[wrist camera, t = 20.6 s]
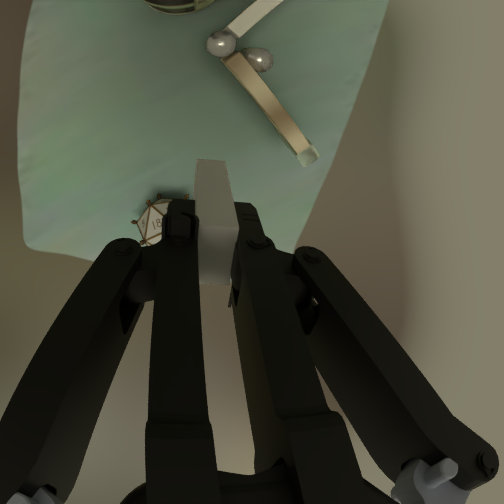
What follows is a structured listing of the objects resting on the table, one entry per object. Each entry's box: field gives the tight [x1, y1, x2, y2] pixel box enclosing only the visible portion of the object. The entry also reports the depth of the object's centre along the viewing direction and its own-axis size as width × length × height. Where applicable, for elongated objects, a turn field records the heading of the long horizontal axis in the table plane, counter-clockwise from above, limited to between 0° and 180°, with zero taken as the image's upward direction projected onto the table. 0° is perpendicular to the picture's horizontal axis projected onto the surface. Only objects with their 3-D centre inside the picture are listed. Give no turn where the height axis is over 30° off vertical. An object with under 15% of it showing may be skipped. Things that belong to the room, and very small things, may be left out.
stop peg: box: [240, 48, 273, 72], centre depth 28 cm, size 2×2×8 cm
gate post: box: [205, 31, 236, 57], centre depth 26 cm, size 2×2×10 cm
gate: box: [220, 52, 321, 168], centre depth 30 cm, size 13×2×9 cm, turn 36°
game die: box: [131, 194, 189, 246], centre depth 39 cm, size 9×8×10 cm
